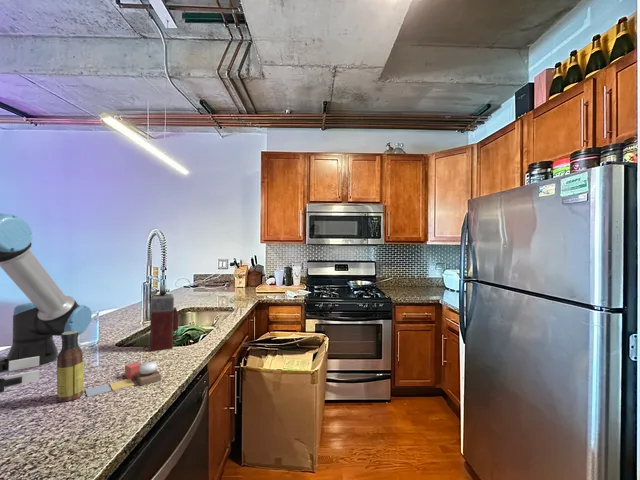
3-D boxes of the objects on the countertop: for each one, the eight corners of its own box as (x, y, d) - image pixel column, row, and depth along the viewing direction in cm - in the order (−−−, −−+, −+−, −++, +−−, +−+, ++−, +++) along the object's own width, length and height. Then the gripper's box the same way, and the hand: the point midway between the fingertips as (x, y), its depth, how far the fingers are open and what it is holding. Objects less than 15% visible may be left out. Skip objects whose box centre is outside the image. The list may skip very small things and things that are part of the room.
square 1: (85, 390, 98) (85, 389, 98) (107, 384, 102) (107, 384, 102) (87, 397, 94) (87, 396, 94) (111, 391, 98) (111, 390, 98)
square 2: (109, 384, 103) (109, 383, 103) (130, 379, 107) (130, 378, 107) (112, 390, 98) (112, 390, 98) (134, 385, 102) (134, 384, 102)
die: (124, 376, 109) (125, 365, 109) (136, 372, 112) (136, 361, 113) (130, 379, 107) (130, 367, 107) (142, 375, 110) (142, 364, 110)
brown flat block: (135, 378, 108) (135, 372, 108) (154, 373, 112) (154, 367, 112) (141, 386, 102) (141, 379, 102) (160, 380, 106) (160, 375, 106)
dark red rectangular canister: (178, 347, 140) (179, 285, 140) (149, 351, 134) (151, 287, 135) (176, 342, 148) (178, 283, 148) (149, 345, 142) (151, 284, 143)
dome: (137, 370, 107) (137, 364, 107) (154, 366, 111) (154, 360, 111) (141, 375, 103) (141, 368, 103) (158, 371, 107) (158, 364, 107)
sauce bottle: (80, 390, 98) (82, 327, 98) (86, 397, 94) (88, 331, 94) (53, 398, 93) (55, 332, 93) (58, 405, 89) (60, 336, 89)
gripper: (-68, 387, 84) (38, 367, 98) (-98, 429, 65) (38, 397, 79) (-67, 359, 84) (39, 343, 98) (-96, 393, 65) (39, 367, 80)
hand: (39, 367), depth 89 cm, fingers open, 13 cm apart
